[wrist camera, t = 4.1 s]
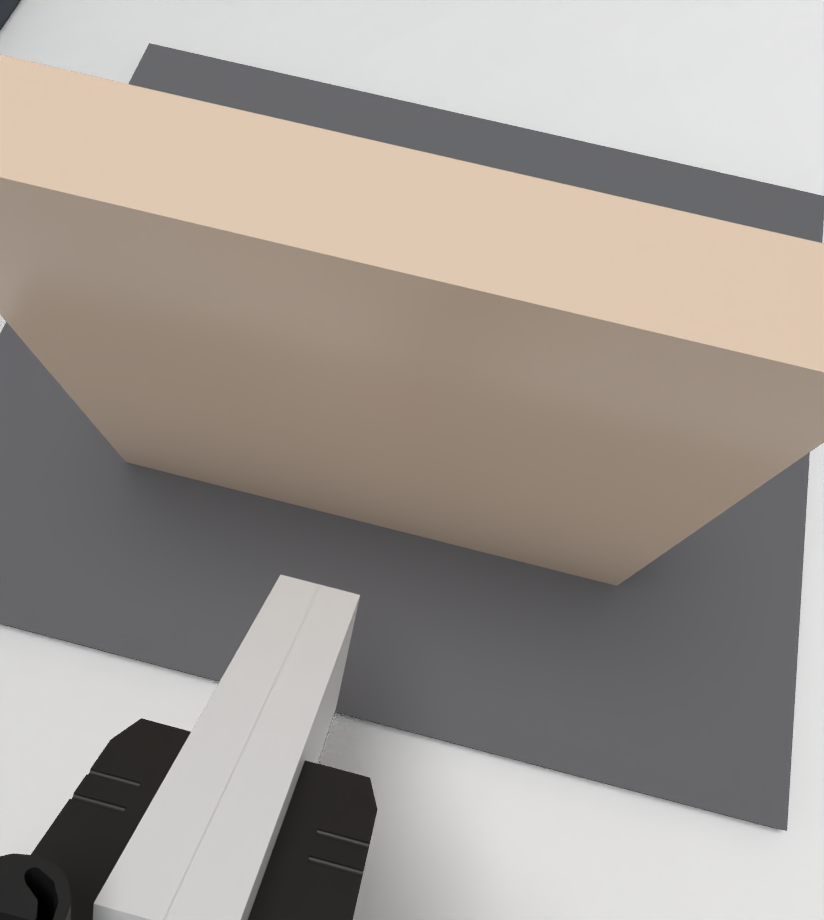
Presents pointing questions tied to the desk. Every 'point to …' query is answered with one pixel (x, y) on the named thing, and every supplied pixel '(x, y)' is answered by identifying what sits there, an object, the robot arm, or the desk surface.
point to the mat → (426, 560)
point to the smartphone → (6, 9)
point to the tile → (400, 326)
